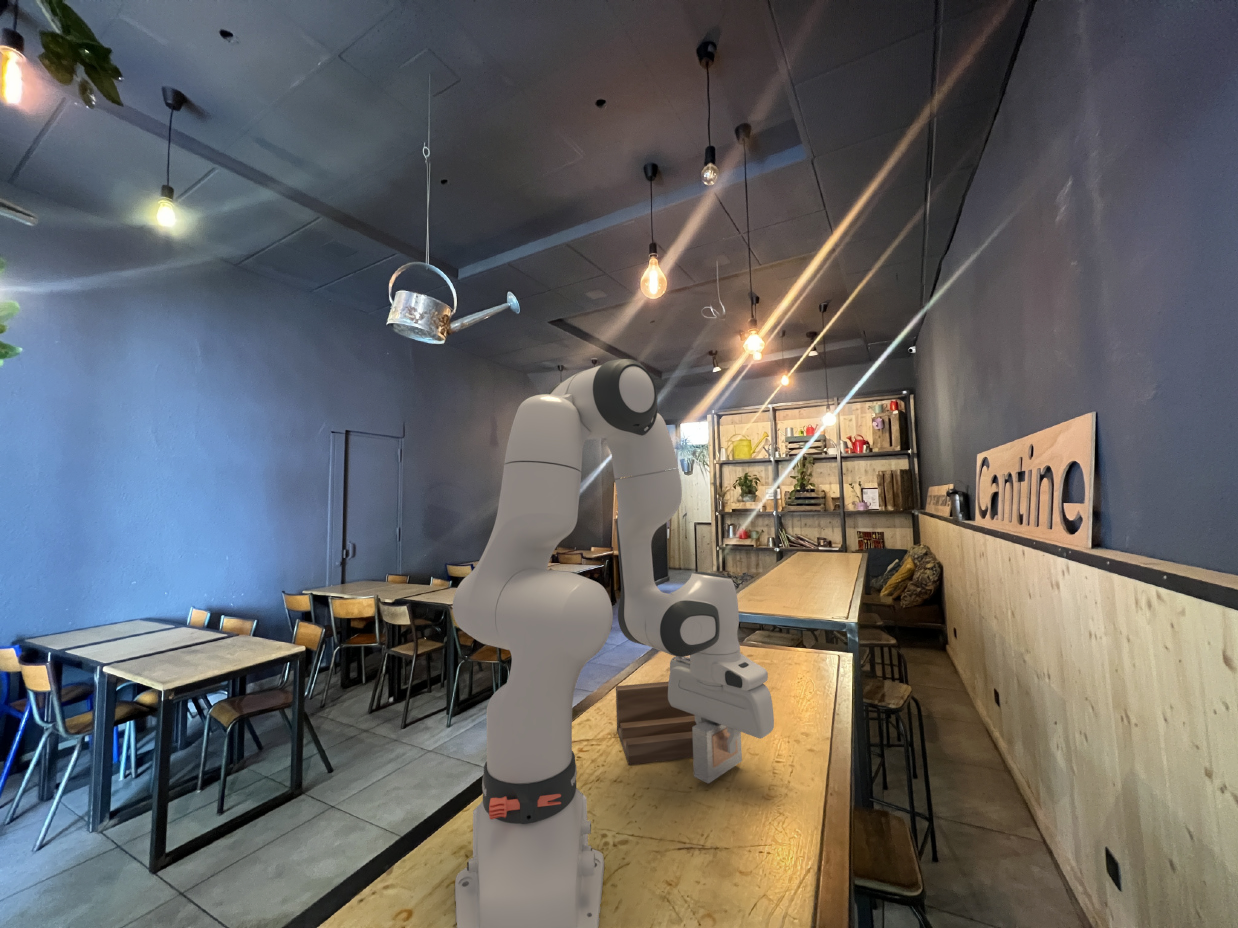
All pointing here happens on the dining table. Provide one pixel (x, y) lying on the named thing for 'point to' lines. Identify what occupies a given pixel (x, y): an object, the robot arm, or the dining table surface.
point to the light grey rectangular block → (712, 751)
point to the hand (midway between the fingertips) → (718, 746)
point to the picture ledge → (652, 724)
